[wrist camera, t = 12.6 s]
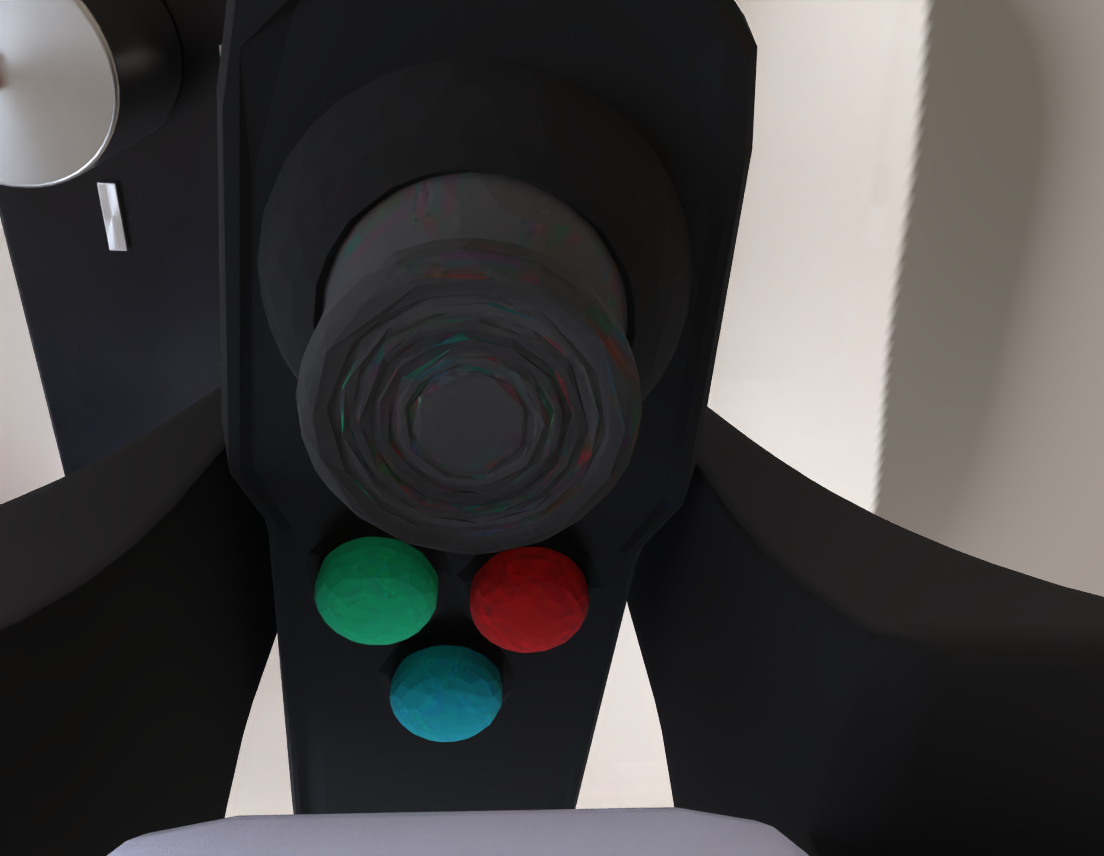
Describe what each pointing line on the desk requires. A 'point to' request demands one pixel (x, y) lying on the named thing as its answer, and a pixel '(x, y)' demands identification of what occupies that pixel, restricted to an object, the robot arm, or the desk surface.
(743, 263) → the desk surface
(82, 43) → the knob
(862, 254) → the desk surface
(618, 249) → the controller
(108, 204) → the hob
